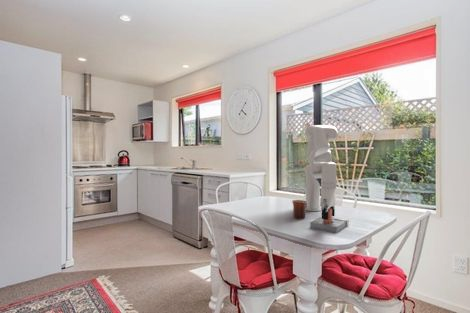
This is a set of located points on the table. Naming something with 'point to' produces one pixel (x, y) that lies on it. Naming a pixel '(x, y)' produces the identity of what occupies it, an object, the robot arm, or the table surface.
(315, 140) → the robot arm
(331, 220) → the pin
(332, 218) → the tilted grey slab block
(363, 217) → the table surface
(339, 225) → the square hole plate
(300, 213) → the mug
